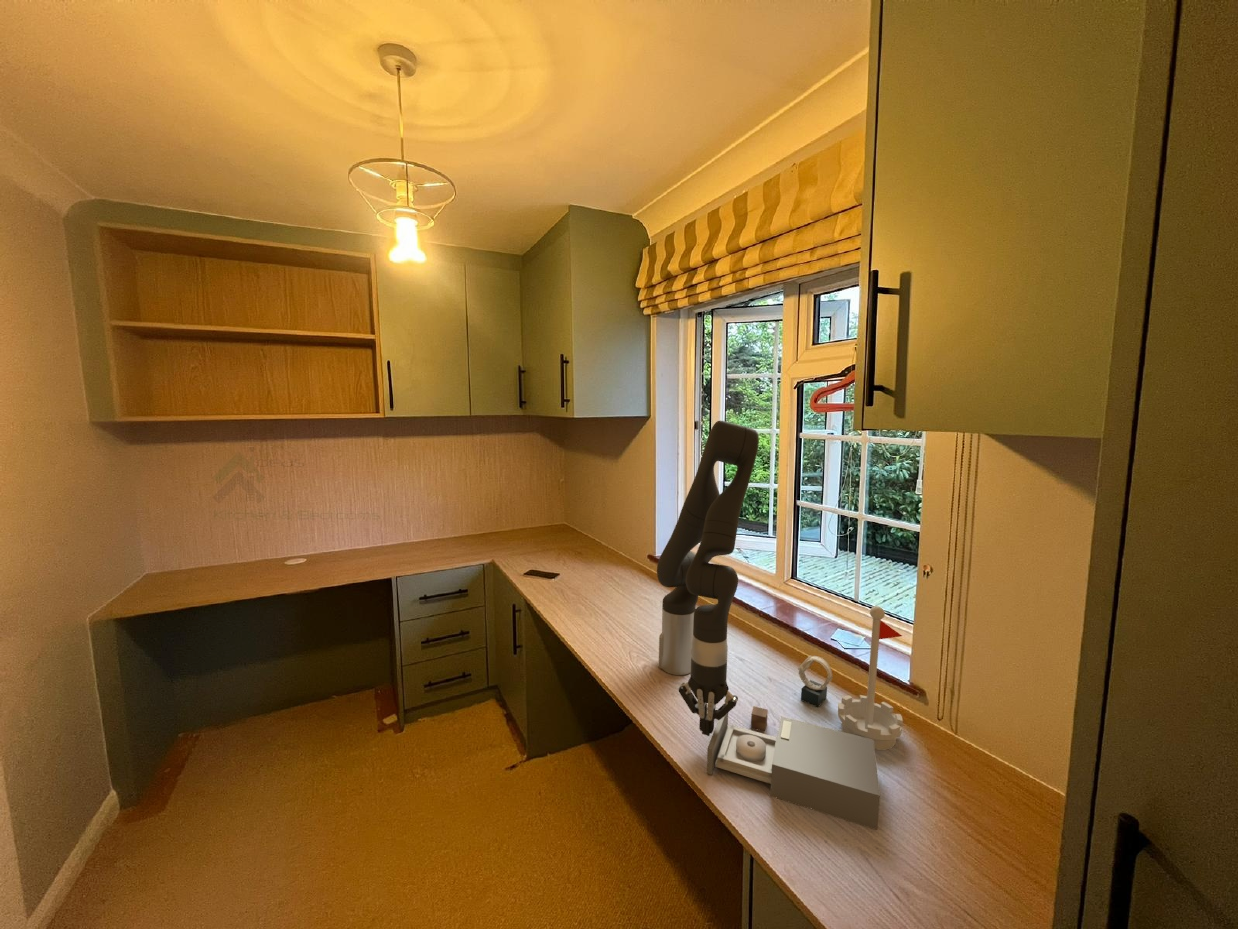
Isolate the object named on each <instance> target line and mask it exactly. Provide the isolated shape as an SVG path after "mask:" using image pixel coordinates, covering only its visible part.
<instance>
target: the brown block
mask: <svg viewBox="0 0 1238 929" xmlns="http://www.w3.org/2000/svg"><path fill="white" fill-rule="evenodd" d="M768 712H769V711H768V708H767V709H765V708H762V707H759V706H753V707H752V711H751V716H750V717H751V718H750V728H751V729H752V730H757V731H760V732H764V733H765V732H766V730H767V725H768V714H769V713H768Z"/></svg>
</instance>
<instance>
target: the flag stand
mask: <svg viewBox="0 0 1238 929" xmlns="http://www.w3.org/2000/svg"><path fill="white" fill-rule="evenodd" d="M869 614H870V616H871V617H872V624H871V625H872V626H871V627H872V628H871V639H870V654H869V664H868V665H869V666H868V678H867V679H868V680H867V694H866V695H862V694H859V699H858V698H857V699H856V698H853V697H852V696H851V695H845V696H843V697H841V702H837V717H838V719H839V721H840V723H841V730H842V732H845V733H849V734H853V735H857V736H861V737H865V738H869V739H873V740H874V746H875V751H876V750H877V751H884V750H885V751H886V750H890V749H892V748H893V747H894V746H895V745H896V740H897V739H898V738H899V737H900V736H901V735H902V733H903V724H904V720H903V716H902V714H901V713H895V712H894V707H893V706H892V705H891V704H889V703H888V702H886V701H882V702H880V704H879V703H877V702H875V696H876V683H877V671H878V657H879V645H880V640H886V639H892V638H897V637H898V638H899V637H903V635H902V634H901V633H899V632H898V631H896V630H895V629H894V628H893V627H891V626H889V625H888V624H886V623H885V621H882V620H883V619H884V617H885V615H886V613H885V610H884V609H883V607H881V606H878V605H875V606H874V605H873V606H872V607H871V608H870V609H869Z"/></svg>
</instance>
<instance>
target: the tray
mask: <svg viewBox="0 0 1238 929" xmlns="http://www.w3.org/2000/svg"><path fill="white" fill-rule="evenodd" d="M742 735H753V736H756V737H758V738H760V739H762V740H763V741H764V743H765V744H766V756H765V758H764V759H763V760H761V761H756V762H754V761H748V760H746V759H744V758H742V757H741V756H739V755H738V753H737V751H736V740H737V738H738V737H739V736H742ZM776 740H777V736H773V735H770V734H766V733H761V732H757V731H755V730H750V729H747V728H744V727H739V726H737V725H732V724H729V712H728V713H727V714H726V715H725V716H724V717H723V718H721V719H720V720H717V723H716V725H715V727H714V729H713V732H712V735H711V737H710V741H709V743H708V746H707V752H706V753H707V754H706V758H707V759H706V774H707V775H710V776H712V775H713V772H714V769H715V768H718V769H722V770H725V771H727V772H731V773H734V774H738V775H741V776H745V777H748V778H751V779H754V780H757V781H760V782H764V783H766V784H770V785H771V773H772V761H773V756H774V751H775V745H776Z"/></svg>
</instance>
